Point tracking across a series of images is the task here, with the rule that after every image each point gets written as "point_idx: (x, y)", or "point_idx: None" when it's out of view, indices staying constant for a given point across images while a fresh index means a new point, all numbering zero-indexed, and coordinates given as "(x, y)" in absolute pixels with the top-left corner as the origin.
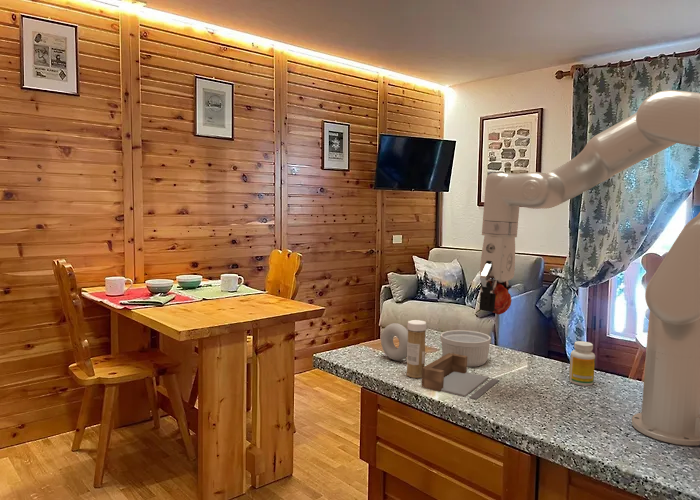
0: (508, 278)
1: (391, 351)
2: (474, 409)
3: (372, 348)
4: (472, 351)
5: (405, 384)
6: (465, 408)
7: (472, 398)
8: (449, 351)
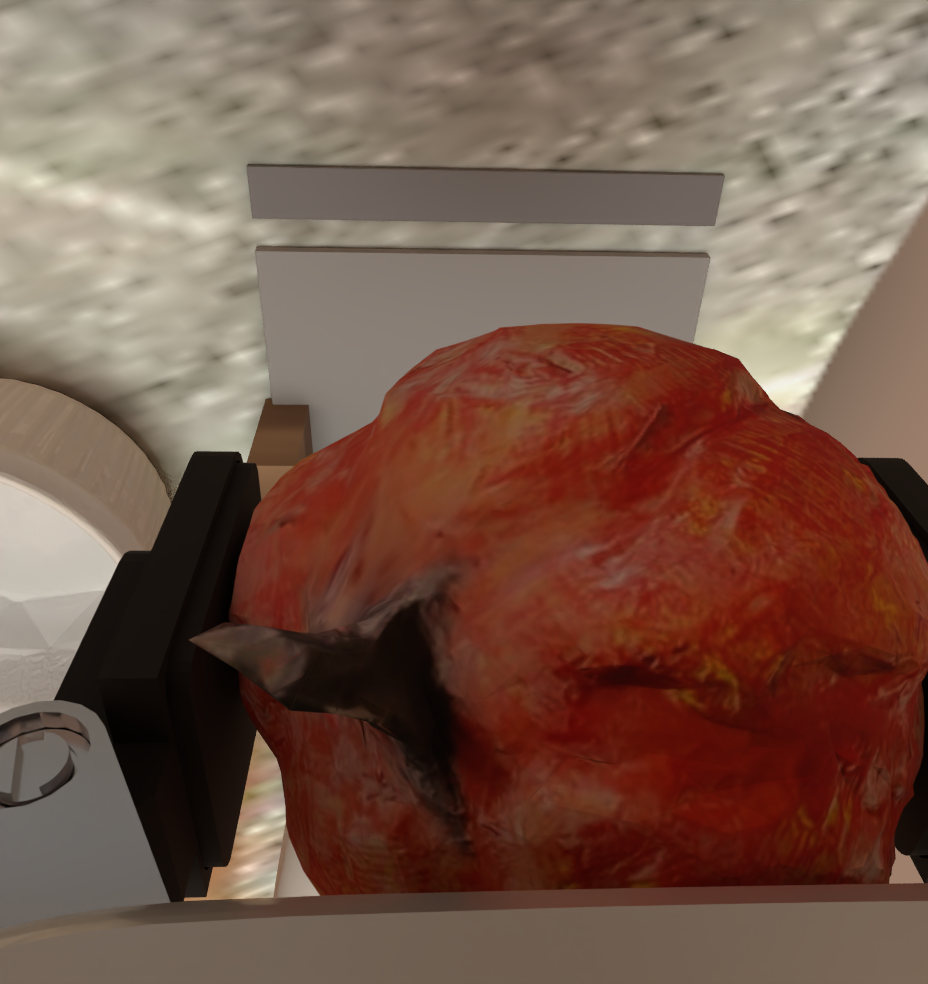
0: (731, 958)
1: None
2: (900, 124)
3: (245, 864)
4: (99, 479)
5: None
6: (902, 180)
7: (717, 202)
8: None
